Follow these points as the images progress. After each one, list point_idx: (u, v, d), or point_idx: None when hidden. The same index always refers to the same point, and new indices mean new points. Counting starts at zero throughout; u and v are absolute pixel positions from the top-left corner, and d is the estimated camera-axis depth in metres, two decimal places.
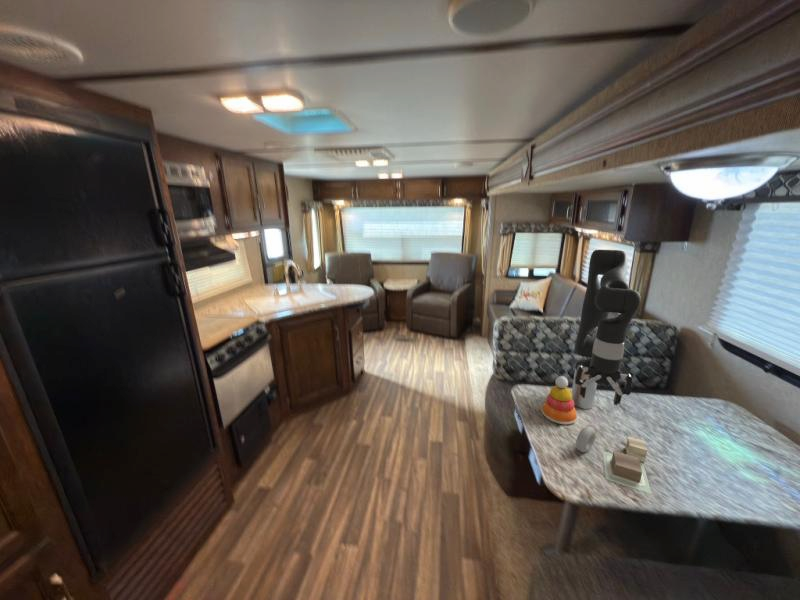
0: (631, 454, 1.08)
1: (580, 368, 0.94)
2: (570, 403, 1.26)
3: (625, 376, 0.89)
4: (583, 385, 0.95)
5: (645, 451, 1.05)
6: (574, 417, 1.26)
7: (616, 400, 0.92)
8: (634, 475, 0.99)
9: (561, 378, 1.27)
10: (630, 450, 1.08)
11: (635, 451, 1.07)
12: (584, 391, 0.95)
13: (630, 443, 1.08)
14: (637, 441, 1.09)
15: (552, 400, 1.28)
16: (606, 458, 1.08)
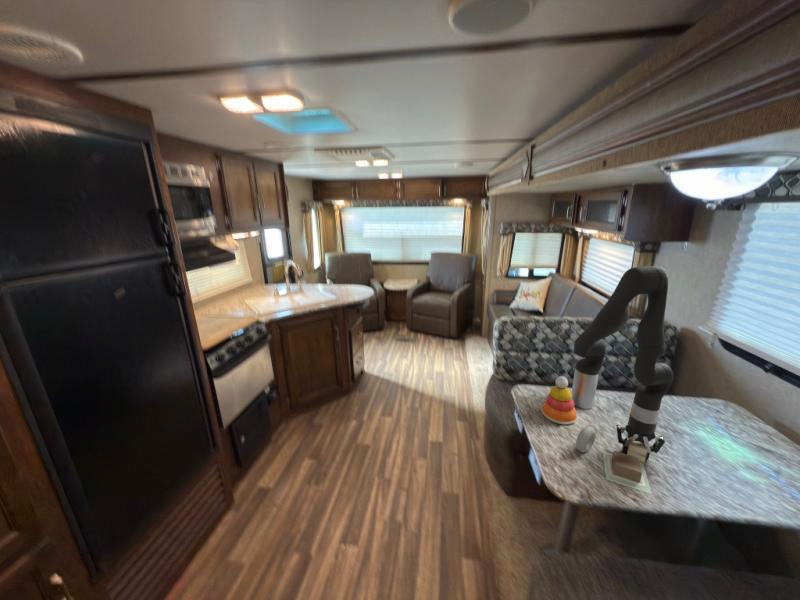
0: (631, 454, 1.08)
1: (618, 429, 1.09)
2: (570, 403, 1.26)
3: (659, 438, 1.04)
4: (626, 444, 1.09)
5: (645, 451, 1.05)
6: (574, 417, 1.26)
7: None
8: (634, 475, 0.99)
9: (561, 378, 1.27)
10: (630, 450, 1.08)
11: (635, 451, 1.07)
12: (626, 449, 1.09)
13: (631, 443, 1.08)
14: (637, 441, 1.09)
15: (552, 400, 1.28)
16: (606, 458, 1.08)
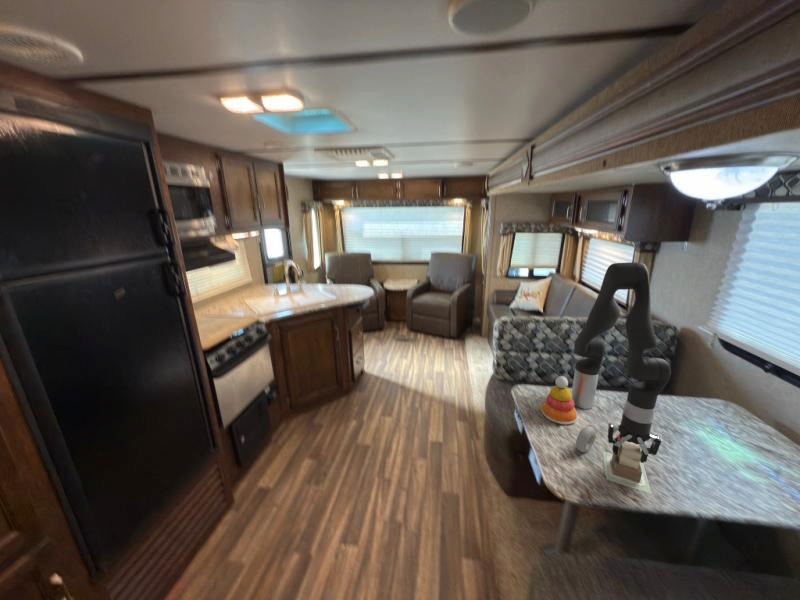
0: (624, 458, 1.00)
1: (611, 428, 1.01)
2: (570, 403, 1.26)
3: (654, 438, 0.96)
4: (616, 444, 1.01)
5: (639, 455, 0.97)
6: (574, 417, 1.26)
7: (642, 458, 0.98)
8: (634, 475, 0.99)
9: (561, 378, 1.27)
10: (623, 454, 1.00)
11: (628, 455, 0.99)
12: (617, 449, 1.02)
13: (623, 447, 1.00)
14: (630, 444, 1.01)
15: (552, 400, 1.28)
16: (606, 458, 1.08)
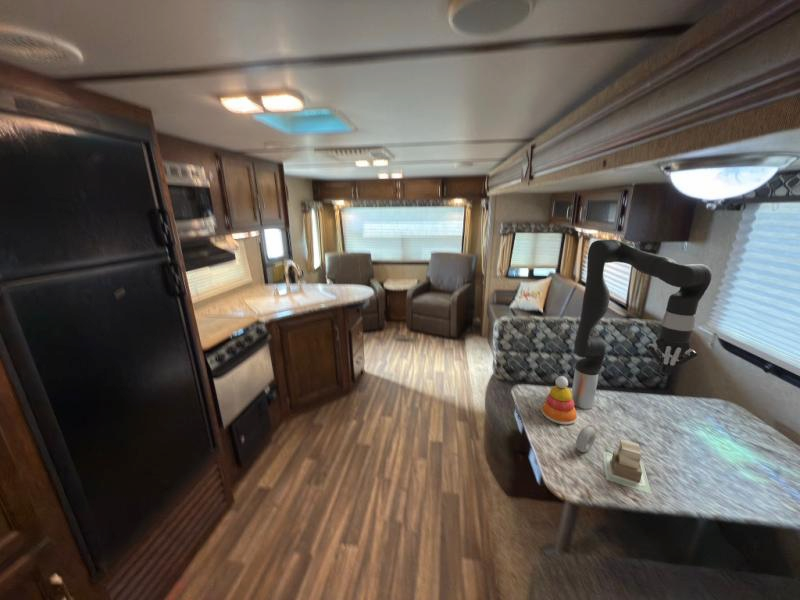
0: (624, 458, 1.00)
1: (650, 347, 1.01)
2: (570, 403, 1.26)
3: (691, 351, 0.97)
4: (665, 362, 1.00)
5: (639, 455, 0.97)
6: (574, 417, 1.26)
7: (668, 370, 1.01)
8: (634, 475, 0.99)
9: (561, 378, 1.27)
10: (623, 454, 1.00)
11: (628, 455, 0.99)
12: (666, 368, 1.01)
13: (623, 447, 1.00)
14: (630, 444, 1.01)
15: (552, 400, 1.28)
16: (606, 458, 1.08)
